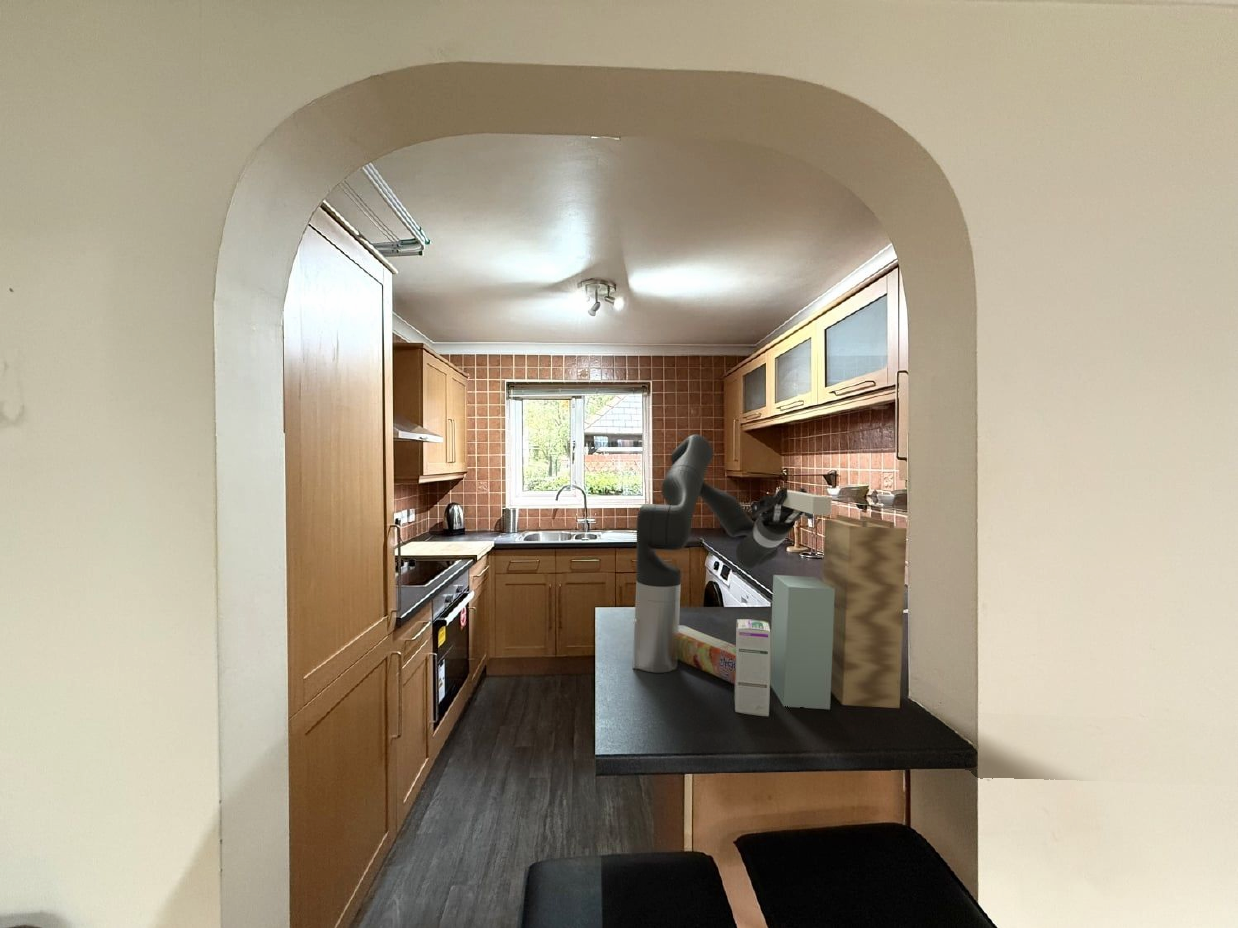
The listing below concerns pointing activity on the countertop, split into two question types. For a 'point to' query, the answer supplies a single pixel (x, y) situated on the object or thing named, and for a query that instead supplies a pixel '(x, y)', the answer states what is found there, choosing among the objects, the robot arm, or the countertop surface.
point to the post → (801, 641)
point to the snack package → (707, 653)
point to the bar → (808, 502)
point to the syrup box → (752, 667)
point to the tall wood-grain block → (866, 608)
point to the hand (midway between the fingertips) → (794, 492)
